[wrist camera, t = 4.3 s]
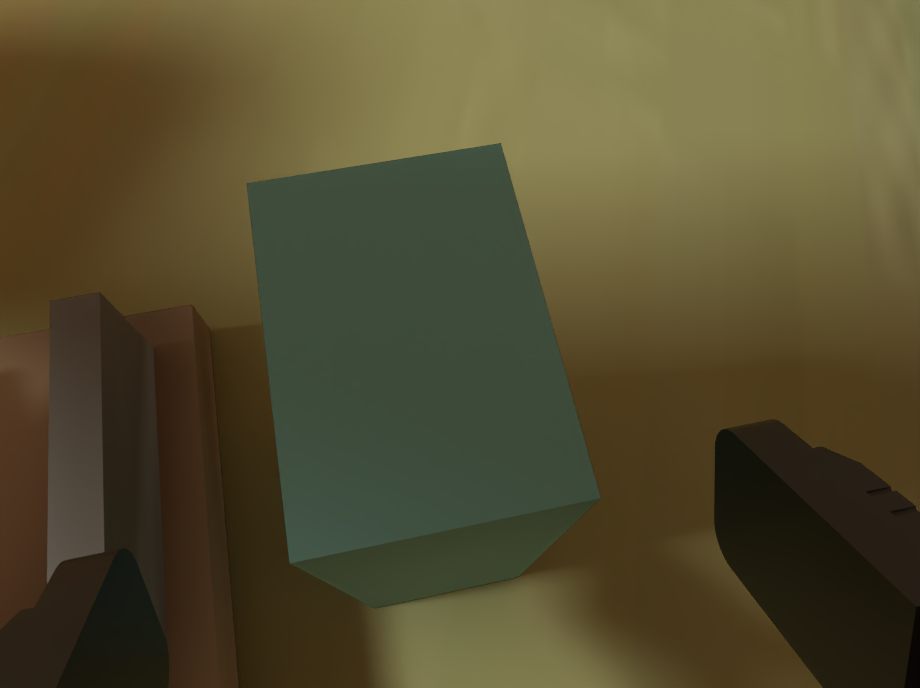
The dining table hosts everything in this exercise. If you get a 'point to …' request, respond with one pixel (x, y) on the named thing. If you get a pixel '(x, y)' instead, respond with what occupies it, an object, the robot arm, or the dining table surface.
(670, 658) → the dining table surface
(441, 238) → the teal block
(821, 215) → the dining table surface
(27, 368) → the book rack
